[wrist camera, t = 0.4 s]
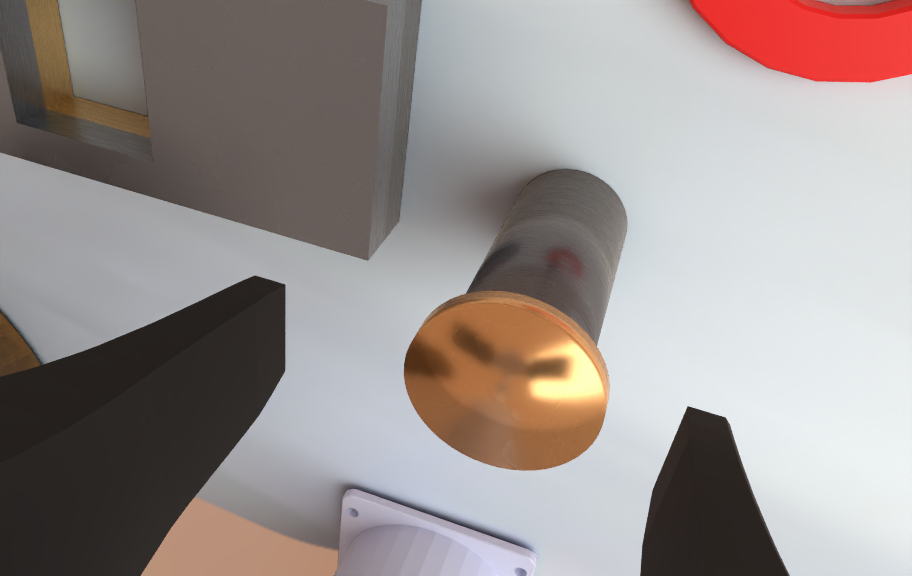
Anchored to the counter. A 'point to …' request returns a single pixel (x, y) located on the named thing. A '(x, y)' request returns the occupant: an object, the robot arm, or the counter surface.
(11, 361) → the brown labelled jar
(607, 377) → the pin
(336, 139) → the slotted panel plate
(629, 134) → the counter surface
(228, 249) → the counter surface
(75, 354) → the robot arm
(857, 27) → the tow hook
